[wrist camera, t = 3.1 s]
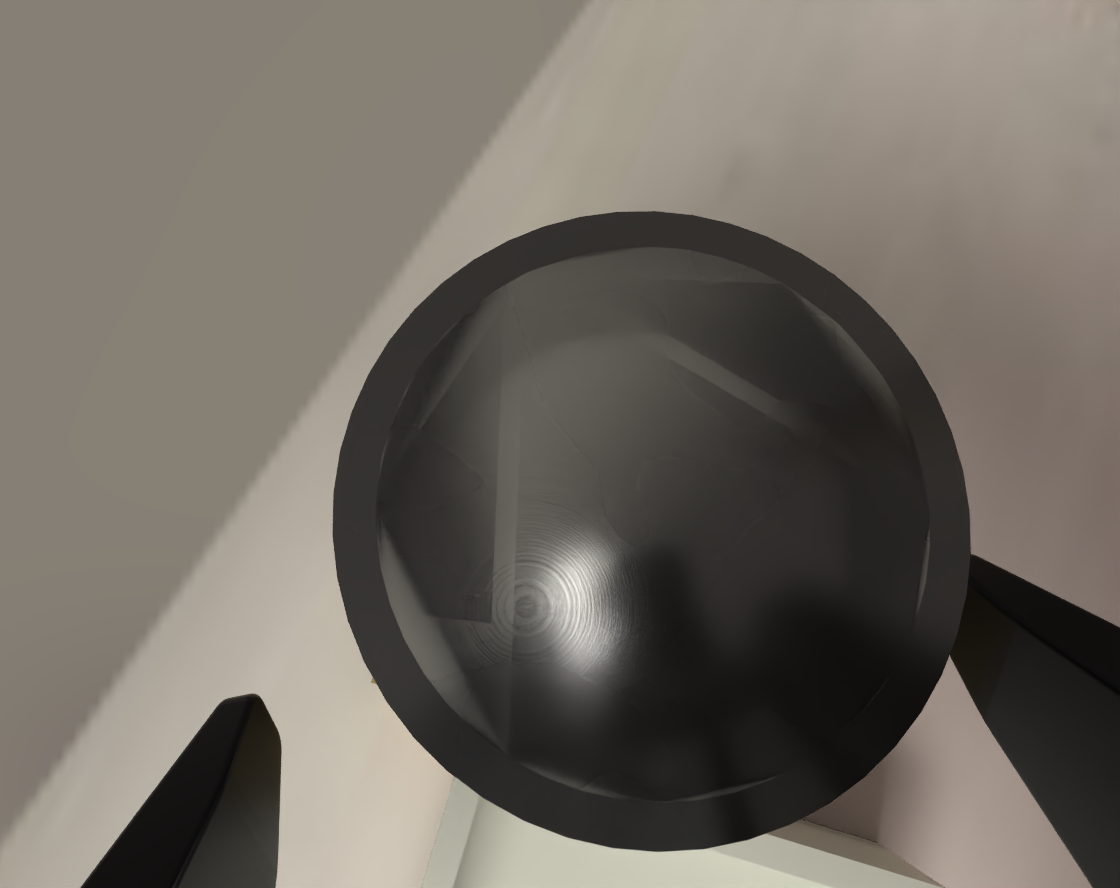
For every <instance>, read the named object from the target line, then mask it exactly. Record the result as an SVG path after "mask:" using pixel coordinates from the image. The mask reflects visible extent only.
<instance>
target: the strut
mask: <svg viewBox="0 0 1120 888" xmlns="http://www.w3.org/2000/svg"><path fill="white" fill-rule="evenodd" d="M333 542H334V551H335V560H336V570H337V578H338V582H339V586H340V590H341V594H342V598H343V602H344V606H345V610H346V615H347V619H348V622H349V624H350V627H351V629H352V632H353V634H354V637H355V640H356V642H357V645H358V647H359V650H360V652H361V655H362V657H363V660H364V662H365V664H366V666H367V668H368V669H369V671H370V673H371V675H372V676H373V678H374V680H375V682H376V684H377V685H378V687H379V689H380V691H381V692H382V694H383V696H384V698H385V700H386V701H387V703H388V704H389V705H390V707H391V708H392V709H393V711H394V712H395V713H396V715H397V716H398V717H399V719H400V720H401V721H402V722H403V724H404V725H405V726H406V728H407V729H408V730H409V732H410V733H411V734H412V736H413V737H414V738H415V739H416V740H417V741H418V742H419V743H420V744H421V745H422V746H423V747H424V748H425V749H426V750H427V751H428V752H429V753H430V754H431V755H432V756H433V757H434V758H435V759H436V760H437V761H438V762H439V763H440V764H441V765H442V766H443V767H444V768H445V769H446V770H447V771H448V772H449V773H451V774H452V775H453V776H455V777H456V778H457V779H459V780H460V781H461V782H463V783H464V784H465V785H467V786H468V787H469V788H470V789H472V790H473V791H474V792H476V793H477V794H478V795H480V796H481V797H482V798H484V799H485V800H487V801H489V802H491V803H493V804H494V805H496V806H498V807H500V808H502V809H503V810H505V811H507V812H509V813H511V814H512V815H514V816H516V817H518V818H520V819H521V820H523V821H525V822H528V823H530V824H533V825H536V826H538V827H541V828H543V829H546V830H549V831H551V832H554V833H556V834H559V835H561V836H564V837H567V838H570V839H575V840H579V841H583V842H588V843H592V844H596V845H601V846H605V847H609V848H616V849H628V850H640V851H652V852H667V851H684V850H700V849H708V848H712V847H717V846H722V845H727V844H732V843H736V842H741V841H746V840H750V839H752V838H755V837H758V836H761V835H763V834H766V833H769V832H772V831H774V830H777V829H780V828H782V827H785V826H788V825H790V824H792V823H794V822H796V821H798V820H800V819H802V818H803V817H805V816H807V815H809V814H811V813H813V812H815V811H816V810H818V809H820V808H822V807H824V806H826V805H827V804H829V803H831V802H832V801H833V800H835V799H836V798H837V797H839V796H840V795H841V794H843V793H844V792H845V791H847V790H848V789H849V788H851V787H852V786H853V785H855V784H856V783H857V782H859V781H860V780H861V779H863V778H864V777H865V776H866V775H867V774H868V773H869V772H870V771H871V770H872V769H873V768H874V767H875V766H876V765H877V764H878V763H879V762H880V761H881V760H882V759H883V758H884V757H885V756H886V755H887V754H888V753H889V752H890V751H891V750H892V749H893V748H894V747H895V746H896V745H897V744H898V742H899V741H900V740H901V738H902V737H903V736H904V734H905V733H906V732H907V730H908V729H909V728H910V726H911V725H912V724H913V722H914V721H915V720H916V718H917V717H918V716H919V714H920V713H921V711H922V710H923V708H924V706H925V704H926V702H927V701H928V699H929V697H930V695H931V693H932V691H933V690H934V688H935V686H936V684H937V682H938V681H939V679H940V677H941V675H942V673H943V670H944V668H945V665H946V662H947V660H948V657H949V655H950V652H951V649H952V647H953V644H954V641H955V639H956V636H957V633H958V628H959V624H960V620H961V616H962V612H963V607H964V603H965V599H966V595H967V585H968V575H969V565H970V555H971V547H970V514H969V506H968V499H967V493H966V487H965V481H964V474H963V469H962V466H961V462H960V459H959V456H958V452H957V449H956V445H955V442H954V438H953V435H952V432H951V429H950V427H949V425H948V422H947V420H946V418H945V415H944V413H943V411H942V408H941V406H940V404H939V401H938V399H937V397H936V394H935V393H934V391H933V389H932V388H931V386H930V384H929V382H928V381H927V379H926V377H925V375H924V374H923V372H922V370H921V369H920V367H919V365H918V363H917V362H916V360H915V359H914V357H913V356H912V355H911V353H910V352H909V351H908V349H907V348H906V347H905V345H904V344H903V343H902V341H901V340H900V339H899V337H898V336H897V335H896V333H895V332H894V331H893V329H892V328H891V327H890V326H889V325H888V324H887V323H886V322H885V321H884V320H883V319H882V318H881V317H880V316H879V315H878V313H877V312H876V311H875V310H874V309H873V308H872V307H871V306H870V305H869V304H868V303H867V302H866V301H865V300H864V299H863V298H862V297H860V296H859V295H858V294H857V293H856V292H854V291H853V290H852V289H851V288H850V287H848V286H847V285H846V284H845V283H844V282H842V281H841V280H840V279H839V278H837V277H836V276H835V275H834V274H832V273H831V272H829V271H828V270H826V269H824V268H823V267H821V266H820V265H818V264H817V263H815V262H814V261H812V260H811V259H809V258H807V257H806V256H804V255H803V254H801V253H799V252H797V251H795V250H793V249H791V248H789V247H787V246H785V245H783V244H781V243H779V242H777V241H775V240H773V239H771V238H769V237H766V236H764V235H761V234H758V233H755V232H752V231H749V230H747V229H744V228H741V227H738V226H735V225H733V224H729V223H725V222H720V221H716V220H711V219H707V218H703V217H698V216H694V215H685V214H675V213H666V212H656V211H652V212H614V213H607V214H599V215H592V216H585V217H579V218H575V219H571V220H567V221H563V222H560V223H556V224H552V225H548V226H544V227H541V228H539V229H536V230H534V231H531V232H529V233H526V234H524V235H521V236H519V237H516V238H514V239H511V240H509V241H507V242H505V243H503V244H501V245H500V246H498V247H496V248H494V249H492V250H491V251H489V252H487V253H485V254H483V255H482V256H480V257H478V258H476V259H474V260H473V261H471V262H470V263H469V264H467V265H466V266H465V267H463V268H462V269H461V270H459V271H458V272H456V273H455V274H454V275H452V276H451V277H450V278H448V279H447V280H446V281H444V282H443V283H442V284H441V285H440V286H439V287H438V288H436V289H435V290H434V291H433V292H432V293H431V294H430V295H429V296H428V297H427V298H426V299H425V300H424V301H423V302H422V303H421V304H420V305H419V306H418V307H417V308H415V309H414V311H413V312H412V313H411V314H410V316H409V317H408V318H407V319H406V320H405V322H404V323H403V324H402V325H401V327H400V328H399V329H398V330H397V332H396V333H395V334H394V335H393V337H392V338H391V339H390V340H389V342H388V343H387V345H386V347H385V348H384V350H383V352H382V353H381V355H380V356H379V358H378V360H377V361H376V363H375V365H374V366H373V368H372V370H371V371H370V373H369V374H368V377H367V379H366V381H365V383H364V386H363V388H362V390H361V392H360V395H359V397H358V399H357V401H356V403H355V406H354V408H353V410H352V413H351V416H350V420H349V423H348V426H347V430H346V433H345V437H344V440H343V443H342V447H341V450H340V455H339V462H338V468H337V475H336V481H335V487H334V500H333Z"/></svg>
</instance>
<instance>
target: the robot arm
mask: <svg viewBox="0 0 1120 888" xmlns="http://www.w3.org/2000/svg"><path fill="white" fill-rule="evenodd" d="M950 657H951V659H952V661H953V663H954V665H955V667H956V668H957V670H958V672H959V674H960V676H961V678H962V680H963V682H964V684H965V686H966V688H967V690H968V692H969V694H970V696H971V697H972V699H973V701H974V703H975V705H976V707H977V709H978V710H979V712H980V714H981V716H982V718H983V719H984V721H985V723H986V724H987V726H988V728H989V729H990V731H991V732H992V734H993V736H994V737H995V739H996V740H997V742H998V743H999V745H1000V746H1001V748H1002V749H1003V751H1004V753H1005V754H1006V756H1007V757H1008V759H1009V760H1010V762H1011V763H1012V765H1013V766H1014V768H1015V769H1016V771H1017V772H1018V774H1019V775H1020V777H1021V779H1022V780H1023V782H1024V783H1025V785H1026V786H1027V788H1028V789H1029V791H1030V792H1031V794H1032V795H1033V797H1034V798H1035V800H1036V802H1037V803H1038V805H1039V806H1040V808H1041V809H1042V811H1043V812H1044V814H1045V815H1046V817H1047V818H1048V820H1049V821H1050V823H1051V824H1052V826H1053V828H1054V829H1055V831H1056V832H1057V834H1058V835H1059V837H1060V838H1061V840H1062V841H1063V843H1064V844H1065V846H1066V847H1067V849H1068V851H1069V852H1070V854H1071V855H1072V857H1073V858H1074V860H1075V861H1076V863H1077V864H1078V866H1079V867H1080V869H1081V870H1082V872H1083V873H1084V875H1085V877H1086V878H1087V880H1088V881H1089V883H1090V884H1091V886H1092V887H1093V888H1120V627H1118V626H1116V625H1114V624H1112V623H1110V622H1108V621H1106V620H1104V619H1102V618H1100V617H1098V616H1096V615H1094V614H1092V613H1090V612H1088V611H1086V610H1084V609H1082V608H1080V607H1078V606H1076V605H1074V604H1072V603H1070V602H1068V601H1066V600H1064V599H1062V598H1060V597H1058V596H1056V595H1054V594H1052V593H1050V592H1048V591H1046V590H1044V589H1042V588H1040V587H1038V586H1036V585H1034V584H1032V583H1030V582H1028V581H1026V580H1024V579H1022V578H1020V577H1018V576H1016V575H1014V574H1012V573H1010V572H1008V571H1006V570H1004V569H1002V568H1000V567H998V566H996V565H994V564H992V563H990V562H988V561H986V560H984V559H982V558H980V557H978V556H976V555H973V554H971V555H970V565H969V575H968V585H967V595H966V599H965V603H964V607H963V612H962V616H961V620H960V624H959V628H958V633H957V636H956V639H955V641H954V644H953V647H952V649H951V652H950ZM280 782H281V740H280V735H279V732H278V730H277V728H276V726H275V724H274V722H273V720H272V718H271V716H270V714H269V712H268V710H267V708H266V706H265V704H264V702H263V700H262V699H261V697H260V696H258V695H257V694H247V695H242V696H237V697H232V698H228V699H225V700H223V701H222V702H221V703H220V704H219V705H218V706H217V707H216V709H215V710H214V711H213V713H212V714H211V715H210V717H209V718H208V719H207V721H206V722H205V723H204V725H203V726H202V727H201V729H200V730H199V731H198V733H197V734H196V735H195V737H194V738H193V739H192V740H191V742H190V743H189V744H188V746H187V747H186V748H185V750H184V751H183V752H182V754H181V755H180V756H179V758H178V759H177V760H176V762H175V763H174V764H173V766H172V767H171V768H170V770H169V771H168V772H167V774H166V775H165V776H164V778H163V779H162V780H161V782H160V783H159V784H158V786H157V787H156V788H155V790H154V791H153V792H152V793H151V795H150V796H149V797H148V799H147V800H146V801H145V803H144V804H143V805H142V807H141V808H140V809H139V811H138V812H137V813H136V815H135V816H134V817H133V819H132V820H131V821H130V823H129V824H128V825H127V827H126V828H125V829H124V831H123V832H122V833H121V835H120V836H119V837H118V839H117V840H116V841H115V843H114V844H113V845H112V846H111V848H110V849H109V850H108V852H107V853H106V854H105V856H104V857H103V858H102V860H101V861H100V862H99V864H98V865H97V866H96V868H95V869H94V870H93V872H92V873H91V874H90V876H89V877H88V878H87V880H86V881H85V882H84V884H83V885H82V886H81V888H275V886H276V878H277V865H278V843H279V813H280Z"/></svg>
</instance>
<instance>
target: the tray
mask: <svg viewBox="0 0 1120 888" xmlns="http://www.w3.org/2000/svg"><path fill="white" fill-rule="evenodd" d="M421 888H945V887H944V886H942V885H941V884H939V883H938V882H936V881H935V880H933V879H932V878H930V877H929V876H927V875H926V874H924V873H923V872H921V871H920V870H918V869H917V868H915V867H914V866H912V865H911V864H909V863H908V862H906V861H905V860H903V859H902V858H900V857H899V856H897V855H896V854H894V853H893V852H891V851H890V850H888V849H887V848H885V847H884V846H882V845H881V844H879V843H876V842H873V841H870V840H867V839H863V838H860V837H857V836H853V835H850V834H847V833H844V832H840V831H837V830H834V829H830V828H827V827H824V826H821V825H817V824H814V823H811V822H807V821H804V820H801V819H800V820H798V821H796V822H794V823H792V824H790V825H788V826H785V827H782V828H780V829H777V830H774V831H772V832H769V833H766V834H763V835H761V836H758V837H755V838H752V839H750V840H746V841H741V842H736V843H732V844H727V845H722V846H717V847H712V848H708V849H700V850H684V851H667V852H652V851H640V850H628V849H616V848H609V847H605V846H601V845H596V844H592V843H588V842H583V841H579V840H575V839H570V838H567V837H564V836H561V835H559V834H556V833H554V832H551V831H549V830H546V829H543V828H541V827H538V826H536V825H533V824H530V823H528V822H525V821H523V820H521V819H520V818H518V817H516V816H514V815H512V814H511V813H509V812H507V811H505V810H503V809H502V808H500V807H498V806H496V805H494V804H493V803H491V802H489V801H487V800H485V799H484V798H482V797H481V796H480V795H478V794H477V793H476V792H474V791H473V790H472V789H470V788H469V787H468V786H467V785H465V784H464V783H463V782H461V781H460V780H459V779H457V778H456V777H454V780H453V784H452V787H451V790H450V793H449V797H448V800H447V803H446V807H445V810H444V813H443V817H442V820H441V823H440V827H439V830H438V833H437V836H436V840H435V843H434V846H433V850H432V853H431V856H430V860H429V863H428V866H427V869H426V873H425V876H424V879H423V883H422V886H421Z"/></svg>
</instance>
